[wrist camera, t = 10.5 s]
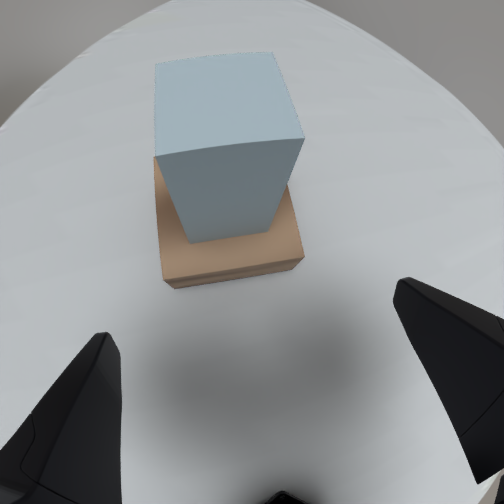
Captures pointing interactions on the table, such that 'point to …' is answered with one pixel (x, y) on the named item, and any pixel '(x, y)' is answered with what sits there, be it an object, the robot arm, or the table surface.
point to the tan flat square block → (223, 246)
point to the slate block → (225, 141)
